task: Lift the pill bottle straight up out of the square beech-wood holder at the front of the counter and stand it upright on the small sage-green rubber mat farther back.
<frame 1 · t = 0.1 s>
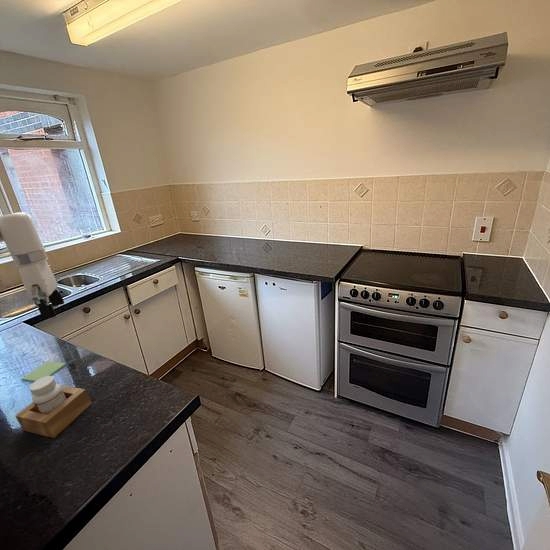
hand: (54, 311, 90), 22 cm above the countertop, tool pointing down, fingers open, 9 cm apart
mat: (44, 371, 99), on the countertop
holder: (59, 416, 79), on the countertop
pill bottle: (59, 417, 79), resting in holder
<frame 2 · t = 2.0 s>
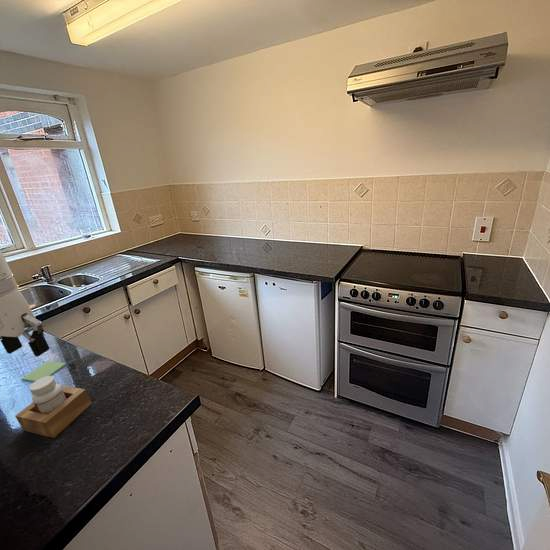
hand: (28, 351, 72), 20 cm above the countertop, tool pointing down, fingers open, 9 cm apart
nothing on the countertop moved.
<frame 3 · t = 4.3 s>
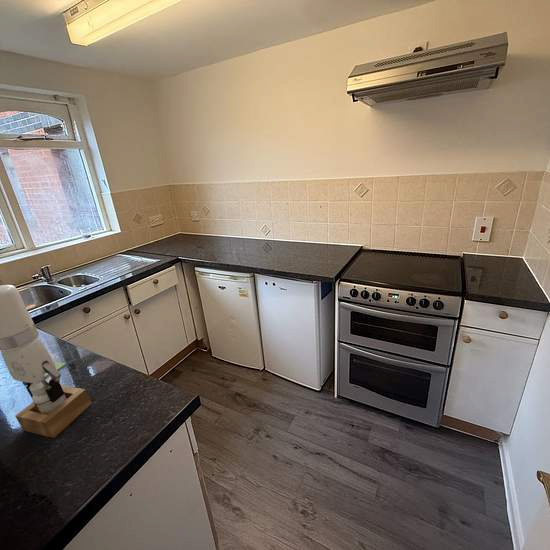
hand: (48, 395, 76), 7 cm above the countertop, tool pointing down, fingers closed on pill bottle, 6 cm apart
pill bottle: (59, 417, 79), resting in holder, touching gripper
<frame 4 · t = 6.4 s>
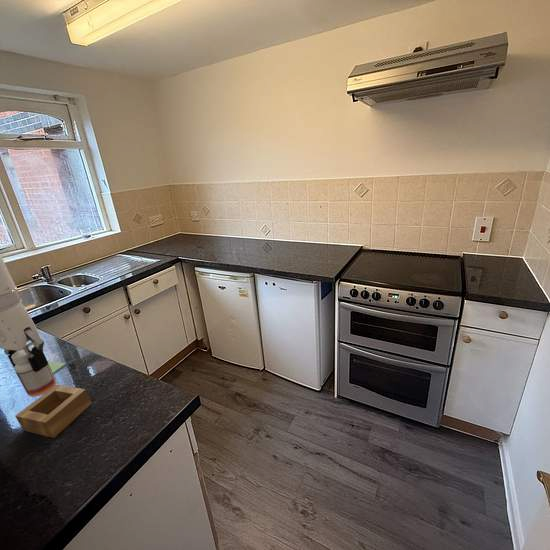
hand: (31, 366, 73), 16 cm above the countertop, tool pointing down, fingers closed on pill bottle, 6 cm apart
pill bottle: (43, 389, 76), point 9 cm above the countertop, touching gripper
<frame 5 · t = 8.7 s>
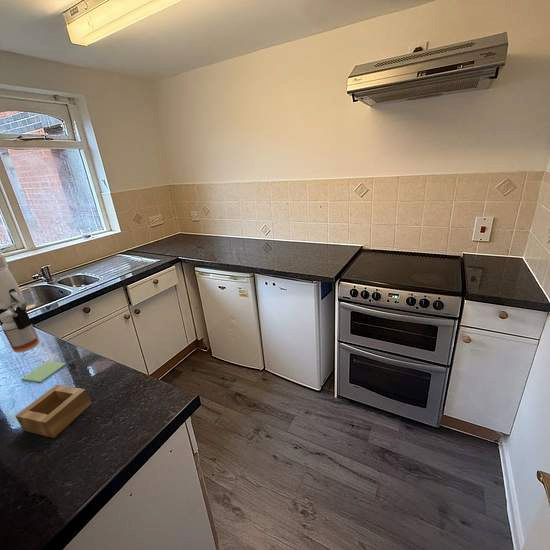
hand: (17, 325, 83), 22 cm above the countertop, tool pointing down, fingers closed on pill bottle, 6 cm apart
pill bottle: (28, 347, 85), point 15 cm above the countertop, touching gripper
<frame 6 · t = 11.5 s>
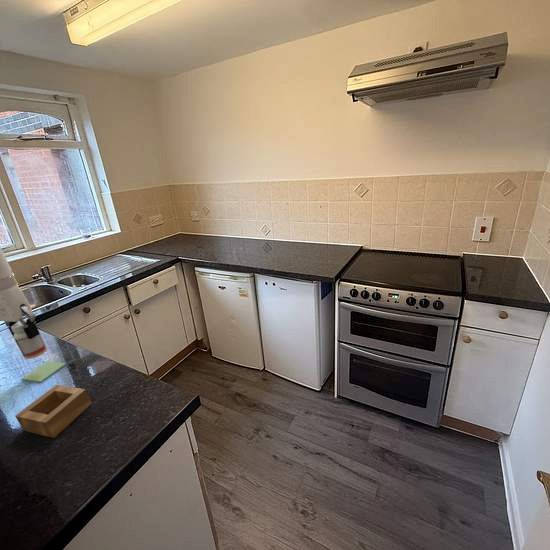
hand: (26, 335, 94), 14 cm above the countertop, tool pointing down, fingers closed on pill bottle, 6 cm apart
pill bottle: (36, 354, 97), point 7 cm above the countertop, touching gripper
when the fingers open (8 cm above the countertop, at t = 13.6 s): pill bottle stays where it is, resting on mat.
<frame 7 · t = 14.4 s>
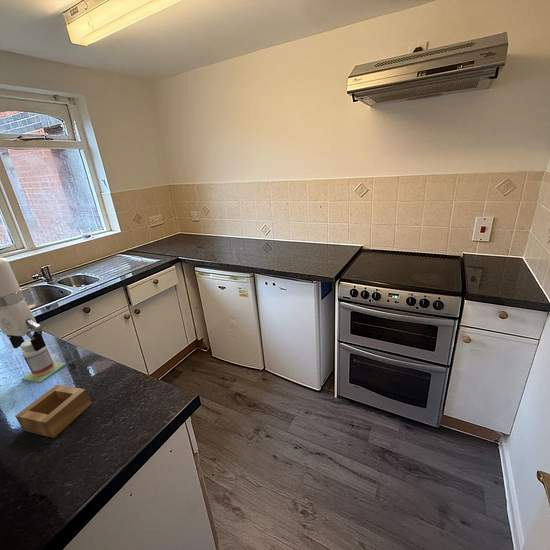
hand: (30, 347, 95), 10 cm above the countertop, tool pointing down, fingers open, 9 cm apart
pill bottle: (44, 371, 99), resting on mat
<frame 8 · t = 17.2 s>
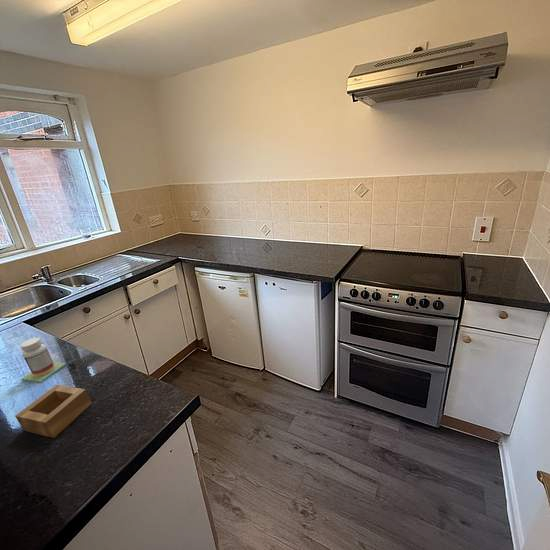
nothing on the countertop moved.
at the end: pill bottle inside the target area on the mat (0.1 cm from its centre), point 0.3 cm above the mat's base; pill bottle tilted 0°; pill bottle touching mat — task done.
